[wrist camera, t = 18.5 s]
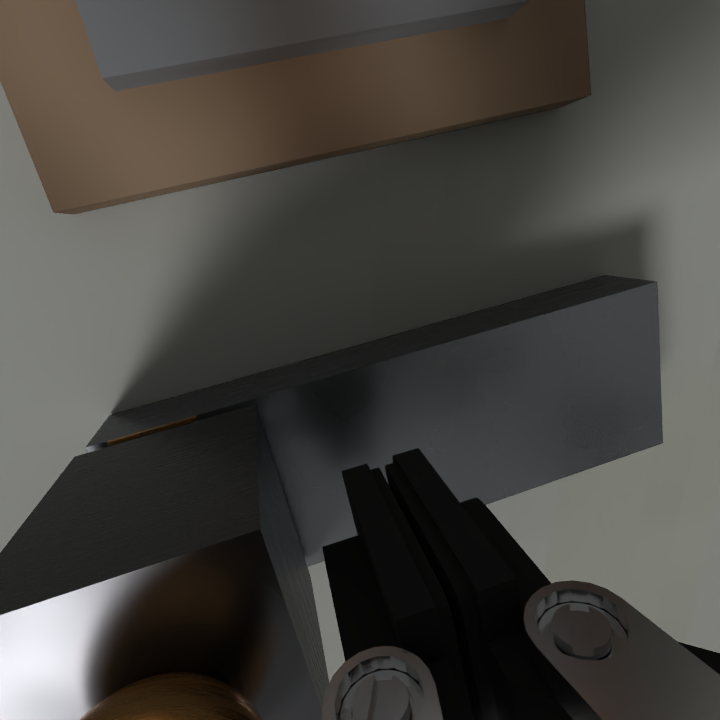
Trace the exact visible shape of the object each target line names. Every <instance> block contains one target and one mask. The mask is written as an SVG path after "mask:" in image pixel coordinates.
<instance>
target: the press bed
mask: <svg viewBox="0 0 720 720" xmlns="http://www.w3.org/2000/svg"><path fill="white" fill-rule="evenodd" d="M0 81H1V83H2V86H3V88H4V91H5V93H6V96H7V98H8V101H9V103H10V106H11V108H12V111H13V113H14V116H15V118H16V121H17V123H18V126H19V128H20V130H21V133H22V135H23V138H24V140H25V143H26V145H27V148H28V150H29V153H30V155H31V158H32V160H33V163H34V165H35V168H36V170H37V172H38V175H39V177H40V180H41V182H42V185H43V187H44V190H45V192H46V195H47V197H48V200H49V202H50V205H51V207H52V210H53V212H54V213H65V214H77V213H81V212H86V211H91V210H95V209H100V208H104V207H109V206H113V205H118V204H122V203H127V202H131V201H136V200H140V199H145V198H150V197H154V196H159V195H163V194H168V193H172V192H177V191H181V190H186V189H190V188H195V187H199V186H204V185H209V184H213V183H218V182H222V181H227V180H231V179H236V178H240V177H245V176H249V175H254V174H258V173H263V172H268V171H272V170H277V169H281V168H286V167H290V166H295V165H299V164H304V163H308V162H313V161H317V160H322V159H327V158H331V157H336V156H340V155H345V154H349V153H354V152H358V151H363V150H367V149H372V148H376V147H381V146H386V145H390V144H395V143H399V142H404V141H408V140H413V139H417V138H422V137H426V136H431V135H436V134H440V133H445V132H449V131H454V130H458V129H463V128H467V127H472V126H476V125H481V124H485V123H490V122H495V121H499V120H504V119H508V118H513V117H517V116H522V115H526V114H531V113H535V112H540V111H544V110H549V109H554V108H558V107H562V106H565V105H567V104H570V103H572V102H575V101H577V100H580V99H582V98H585V97H587V96H590V95H591V86H590V72H589V57H588V43H587V28H586V13H585V0H0Z"/></svg>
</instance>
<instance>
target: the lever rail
mask: <svg viewBox="0 0 720 720" xmlns="http://www.w3.org/2000/svg"><path fill="white" fill-rule="evenodd" d="M254 404H256V407H257V410H258V413H259V416H260V419H261V423H262V426H263V429H264V432H265V435H266V438H267V441H268V445H269V448H270V451H271V454H272V457H273V460H274V463H275V467H276V470H277V473H278V476H279V479H280V482H281V485H282V489H283V492H284V495H285V498H286V501H287V504H288V507H289V511H290V514H291V517H292V520H293V523H294V526H295V530H296V533H297V536H298V539H299V542H300V545H301V548H302V552H303V555H304V558H305V561H306V564H307V567H308V566H311V565H314V564H317V563H320V562H322V561H325V559H324V554H323V549H322V547H323V546H326V545H329V544H332V543H335V542H339V541H342V540H345V539H348V538H351V537H354V536H357V531H356V527H355V523H354V519H353V515H352V511H351V507H350V503H349V499H348V496H347V492H346V488H345V484H344V480H343V476H342V471H343V470H346V469H350V468H353V467H356V466H360V465H363V464H366V463H367V464H368V466H369V468H370V470H371V469H374V468H378V467H379V468H380V470H381V471H382V473H383V475H384V477H385V479H386V481H387V483H388V480H387V476H386V471H385V465H387V464H391V463H393V459H392V457H393V455H396V454H399V453H403V452H406V451H409V450H413V449H416V448H419V449H420V450H421V452H422V453H423V454H424V456H425V457H426V458H427V460H428V461H429V462H430V464H431V465H432V466H433V468H434V469H435V470H436V472H437V473H438V474H439V476H440V477H441V478H442V480H443V481H444V482H445V484H446V485H447V486H448V488H449V489H450V490H451V492H452V493H453V494H454V496H455V497H456V498H457V499H458V501H459V502H463V501H466V500H469V499H472V498H475V497H476V498H479V499H480V500H481V501H482V502H483V503H484V504H485V505H486V504H489V503H492V502H495V501H498V500H501V499H504V498H506V497H509V496H512V495H515V494H518V493H521V492H524V491H527V490H529V489H532V488H535V487H538V486H541V485H544V484H547V483H550V482H552V481H555V480H558V479H561V478H564V477H567V476H570V475H573V474H575V473H578V472H581V471H584V470H587V469H590V468H593V467H595V466H598V465H601V464H604V463H607V462H610V461H613V460H616V459H618V458H621V457H624V456H627V455H630V454H633V453H636V452H639V451H641V450H644V449H647V448H650V447H653V446H656V445H659V444H662V443H663V433H662V404H661V376H660V347H659V318H658V289H657V282H656V281H648V280H640V279H632V278H623V277H615V276H607V275H605V276H601V277H598V278H594V279H591V280H587V281H584V282H580V283H576V284H573V285H569V286H566V287H562V288H559V289H555V290H552V291H548V292H545V293H541V294H538V295H534V296H530V297H527V298H523V299H520V300H516V301H513V302H509V303H506V304H502V305H499V306H495V307H492V308H488V309H484V310H481V311H477V312H474V313H470V314H467V315H463V316H460V317H456V318H453V319H449V320H446V321H442V322H438V323H435V324H431V325H428V326H424V327H421V328H417V329H414V330H410V331H407V332H403V333H399V334H396V335H392V336H389V337H385V338H382V339H378V340H375V341H371V342H368V343H364V344H361V345H357V346H353V347H350V348H346V349H343V350H339V351H336V352H332V353H329V354H325V355H322V356H318V357H315V358H311V359H307V360H304V361H300V362H297V363H293V364H290V365H286V366H283V367H279V368H276V369H272V370H269V371H265V372H261V373H258V374H254V375H251V376H247V377H244V378H240V379H237V380H233V381H230V382H226V383H223V384H219V385H215V386H212V387H208V388H205V389H201V390H198V391H194V392H191V393H187V394H184V395H180V396H176V397H173V398H169V399H166V400H162V401H159V402H155V403H152V404H148V405H145V406H141V407H138V408H134V409H130V410H127V411H123V412H120V413H116V414H113V415H110V416H109V417H108V418H107V420H106V421H105V422H104V423H103V425H102V426H101V427H100V429H99V430H98V431H97V433H96V434H95V435H94V437H93V438H92V439H91V441H90V442H89V443H88V445H87V446H86V447H85V448H86V450H87V453H89V452H93V451H96V450H99V449H103V448H106V447H110V446H113V445H117V444H120V443H123V442H127V441H130V440H134V439H137V438H141V437H144V436H147V435H151V434H154V433H158V432H161V431H165V430H168V429H171V428H175V427H178V426H182V425H185V424H189V423H192V422H195V421H199V420H202V419H206V418H209V417H213V416H216V415H219V414H223V413H226V412H230V411H233V410H237V409H240V408H243V407H247V406H250V405H254ZM388 485H389V484H388Z"/></svg>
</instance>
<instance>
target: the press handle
mask: <svg viewBox="0 0 720 720" xmlns="http://www.w3.org/2000/svg"><path fill="white" fill-rule="evenodd" d="M328 685H329V679H328V673H327V667H326V662H325V656H324V650H323V645H322V639H321V634H320V628H319V622H318V617H317V611H316V605H315V600H314V594H313V588H312V583H311V577H310V574H309V570H308V567H307V564H306V561H305V558H304V555H303V552H302V548H301V545H300V542H299V539H298V536H297V533H296V530H295V526H294V523H293V520H292V517H291V514H290V511H289V507H288V504H287V501H286V498H285V495H284V492H283V489H282V485H281V482H280V479H279V476H278V473H277V470H276V467H275V463H274V460H273V457H272V454H271V451H270V448H269V445H268V441H267V438H266V435H265V432H264V429H263V426H262V423H261V419H260V416H259V413H258V410H257V407H256V404H254V405H250V406H247V407H243V408H240V409H237V410H233V411H230V412H226V413H223V414H219V415H216V416H213V417H209V418H206V419H202V420H199V421H195V422H192V423H189V424H185V425H182V426H178V427H175V428H171V429H168V430H165V431H161V432H158V433H154V434H151V435H147V436H144V437H141V438H137V439H134V440H130V441H127V442H123V443H120V444H117V445H113V446H110V447H106V448H103V449H99V450H96V451H93V452H89V453H86V454H82V455H79V456H75V457H74V458H73V460H72V461H71V462H70V464H69V465H68V466H67V467H66V469H65V470H64V471H63V473H62V474H61V475H60V476H59V478H58V479H57V480H56V482H55V483H54V484H53V485H52V487H51V488H50V489H49V491H48V492H47V493H46V495H45V496H44V497H43V498H42V500H41V501H40V502H39V504H38V505H37V506H36V507H35V509H34V510H33V511H32V513H31V514H30V515H29V516H28V518H27V519H26V520H25V522H24V523H23V524H22V526H21V527H20V528H19V529H18V531H17V532H16V533H15V535H14V536H13V537H12V538H11V540H10V541H9V542H8V544H7V545H6V546H5V548H4V549H3V550H2V551H1V553H0V720H322V709H323V703H324V697H325V691H326V689H327V687H328Z"/></svg>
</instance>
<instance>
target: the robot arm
mask: <svg viewBox="0 0 720 720" xmlns="http://www.w3.org/2000/svg"><path fill="white" fill-rule="evenodd" d="M392 459H393V463H391V464H387V465H385V471H386V476H387V480H388V483H387V481H386V479H385V477H384V475H383V473H382V471H381V470H380V468H379V467H378V468H374V469H371V470H370V468H369V466H368V464H367V463H366V464H363V465H360V466H356V467H353V468H350V469H346V470H343V471H342V476H343V480H344V484H345V488H346V492H347V496H348V499H349V503H350V507H351V511H352V515H353V519H354V523H355V527H356V531H357V536H354V537H351V538H348V539H345V540H342V541H339V542H335V543H332V544H329V545H326V546H323V547H322V549H323V554H324V559H325V564H326V569H327V574H328V579H329V584H330V588H331V593H332V598H333V603H334V608H335V613H336V618H337V622H338V627H339V632H340V637H341V642H342V647H343V652H344V657H345V661H346V662H344V664H343V665H342V666H341V667H340V668H339V669H338V670H337V672H336V673H335V674H334V675H333V677H332V679H331V681H330V683H329V685H328V687H327V689H326V691H325V697H324V703H323V709H322V720H720V653H716V652H713V651H709V650H705V649H702V648H698V647H694V646H691V645H687V644H684V643H680V642H677V641H676V640H675V639H673V638H672V637H671V636H669V635H668V634H667V633H666V632H664V631H663V630H662V629H661V628H659V627H658V626H657V625H655V624H654V623H653V622H652V621H650V620H649V619H648V618H646V617H645V616H644V615H643V614H641V613H640V612H639V611H638V610H636V609H635V608H634V607H632V606H631V605H630V604H629V603H627V602H626V601H625V600H623V599H622V598H621V597H619V596H617V595H616V594H614V593H613V592H611V591H609V590H608V589H606V588H603V587H600V586H597V585H594V584H591V583H587V582H579V581H562V582H555V583H552V584H551V583H550V581H549V580H548V579H547V578H546V577H545V575H544V574H543V573H542V572H541V571H540V569H539V568H538V567H537V566H536V565H535V564H534V562H533V561H532V560H531V559H530V558H529V556H528V555H527V554H526V553H525V552H524V550H523V549H522V548H521V547H520V546H519V545H518V543H517V542H516V541H515V540H514V539H513V537H512V536H511V535H510V534H509V533H508V531H507V530H506V529H505V528H504V527H503V526H502V524H501V523H500V522H499V521H498V520H497V518H496V517H495V516H494V515H493V514H492V512H491V511H490V510H489V509H488V508H487V507H486V505H485V504H484V503H483V502H482V501H481V500H480V499H479V498H476V497H475V498H472V499H469V500H466V501H463V502H459V501H458V499H457V498H456V497H455V496H454V494H453V493H452V492H451V490H450V489H449V488H448V486H447V485H446V484H445V482H444V481H443V480H442V478H441V477H440V476H439V474H438V473H437V472H436V470H435V469H434V468H433V466H432V465H431V464H430V462H429V461H428V460H427V458H426V457H425V456H424V454H423V453H422V452H421V450H420V449H419V448H416V449H413V450H409V451H406V452H403V453H399V454H396V455H393V457H392ZM388 484H389V485H388Z"/></svg>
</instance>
